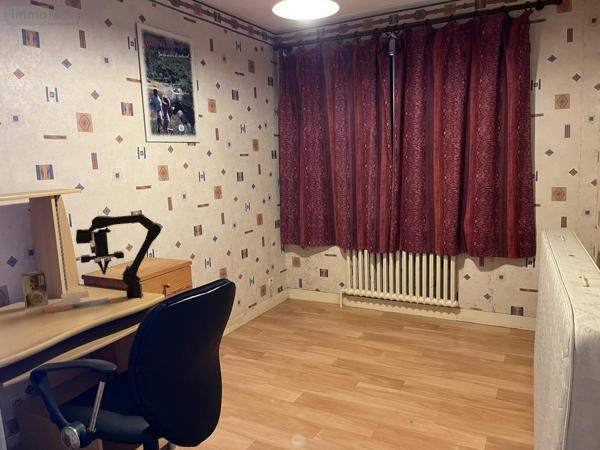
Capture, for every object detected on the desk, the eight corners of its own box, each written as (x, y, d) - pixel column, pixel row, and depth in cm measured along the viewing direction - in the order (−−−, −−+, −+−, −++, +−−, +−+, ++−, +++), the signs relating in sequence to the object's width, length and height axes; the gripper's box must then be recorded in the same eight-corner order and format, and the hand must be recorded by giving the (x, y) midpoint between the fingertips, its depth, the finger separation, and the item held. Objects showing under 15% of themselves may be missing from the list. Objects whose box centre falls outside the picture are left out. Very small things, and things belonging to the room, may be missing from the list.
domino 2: (79, 295, 208) (52, 299, 203) (80, 298, 204) (52, 302, 199) (80, 299, 208) (53, 303, 203) (80, 302, 204) (53, 306, 199)
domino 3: (87, 290, 210) (61, 294, 204) (88, 292, 205) (61, 296, 200) (88, 294, 210) (61, 298, 205) (88, 296, 205) (61, 301, 200)
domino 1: (72, 301, 207) (44, 305, 202) (72, 303, 202) (44, 308, 197) (72, 305, 207) (45, 309, 202) (72, 308, 203) (45, 312, 198)
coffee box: (46, 302, 214) (42, 270, 212) (49, 305, 210) (45, 272, 207) (24, 307, 209) (20, 273, 207) (26, 310, 204) (22, 276, 202)
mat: (107, 299, 217) (107, 297, 217) (110, 304, 208) (110, 303, 207) (52, 308, 206) (51, 306, 206) (51, 314, 196) (51, 313, 196)
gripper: (119, 238, 222) (122, 268, 224) (78, 242, 213) (81, 273, 215) (122, 241, 212) (125, 272, 215) (79, 245, 204) (82, 278, 206)
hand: (104, 274), depth 213 cm, fingers closed
